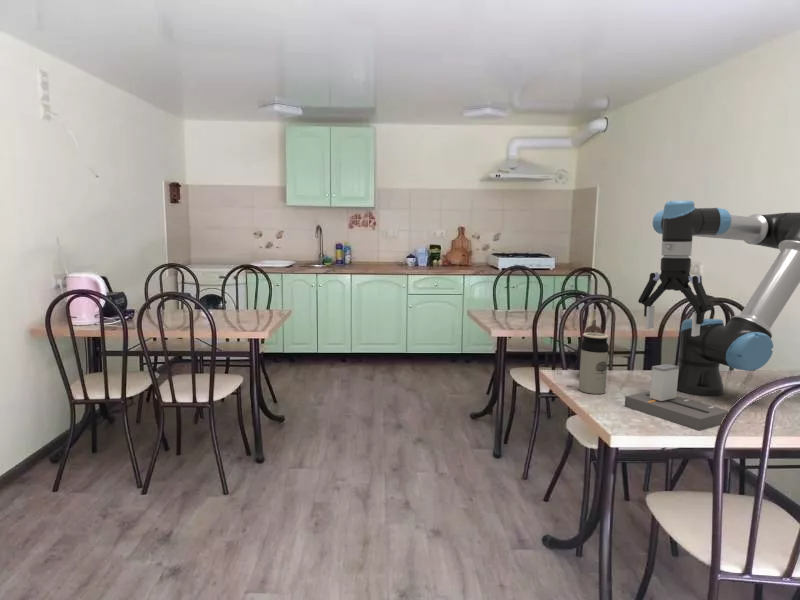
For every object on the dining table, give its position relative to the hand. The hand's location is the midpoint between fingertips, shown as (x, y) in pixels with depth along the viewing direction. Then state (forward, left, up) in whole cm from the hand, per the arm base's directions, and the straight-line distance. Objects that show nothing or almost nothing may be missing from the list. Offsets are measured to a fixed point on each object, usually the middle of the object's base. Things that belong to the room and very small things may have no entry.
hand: (671, 331), depth 157 cm
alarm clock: (-6, -33, -22) cm, 40 cm away
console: (+4, +5, -22) cm, 23 cm away
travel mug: (+7, -21, -22) cm, 31 cm away
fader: (+4, +1, -18) cm, 19 cm away
